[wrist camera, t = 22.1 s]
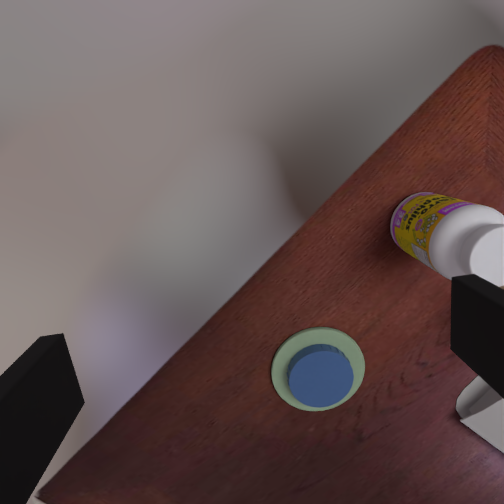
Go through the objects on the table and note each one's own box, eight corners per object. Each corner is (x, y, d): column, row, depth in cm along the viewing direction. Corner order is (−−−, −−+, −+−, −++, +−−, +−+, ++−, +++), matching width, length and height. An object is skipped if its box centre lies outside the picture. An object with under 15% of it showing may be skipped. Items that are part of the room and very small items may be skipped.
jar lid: (351, 394, 44) (355, 403, 43) (289, 402, 44) (291, 411, 43) (348, 339, 42) (352, 346, 41) (283, 347, 42) (285, 355, 41)
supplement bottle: (429, 178, 38) (522, 193, 26) (460, 227, 40) (561, 263, 27) (375, 217, 39) (441, 251, 27) (407, 264, 41) (483, 315, 28)
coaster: (265, 334, 42) (266, 336, 42) (360, 320, 42) (362, 322, 42) (276, 413, 45) (277, 417, 45) (365, 400, 45) (367, 404, 45)
